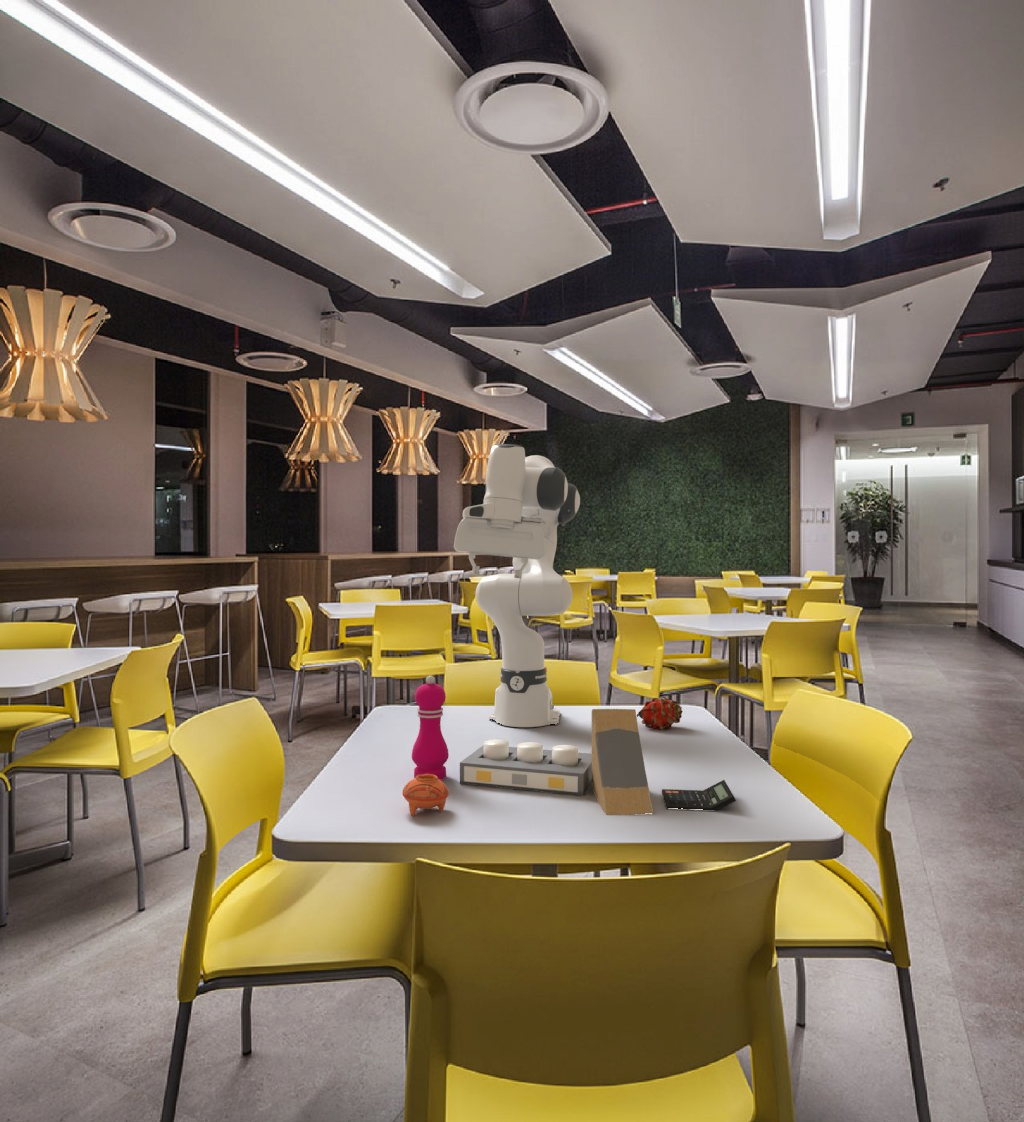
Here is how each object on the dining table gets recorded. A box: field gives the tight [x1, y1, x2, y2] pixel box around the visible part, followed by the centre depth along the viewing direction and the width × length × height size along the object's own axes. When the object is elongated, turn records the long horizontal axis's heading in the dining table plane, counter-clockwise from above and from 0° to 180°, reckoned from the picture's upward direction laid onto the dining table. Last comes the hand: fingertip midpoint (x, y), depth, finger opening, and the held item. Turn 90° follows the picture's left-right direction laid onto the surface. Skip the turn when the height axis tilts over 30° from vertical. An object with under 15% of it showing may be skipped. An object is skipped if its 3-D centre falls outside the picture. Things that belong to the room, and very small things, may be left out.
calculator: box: [661, 779, 737, 811], centre depth 130 cm, size 9×12×3 cm
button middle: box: [516, 741, 544, 763], centre depth 143 cm, size 5×5×4 cm
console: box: [459, 744, 592, 796], centre depth 142 cm, size 14×24×4 cm, turn 73°
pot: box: [401, 774, 450, 817], centre depth 124 cm, size 8×8×7 cm
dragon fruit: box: [636, 696, 683, 731], centre depth 186 cm, size 8×8×12 cm
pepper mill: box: [411, 675, 449, 781], centre depth 143 cm, size 7×7×20 cm
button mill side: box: [483, 739, 510, 760], centre depth 145 cm, size 5×5×4 cm
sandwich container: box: [591, 708, 654, 816], centre depth 130 cm, size 9×15×15 cm, turn 3°
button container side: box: [551, 744, 579, 766], centre depth 141 cm, size 5×5×4 cm
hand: (496, 576), depth 161 cm, fingers open, 8 cm apart
